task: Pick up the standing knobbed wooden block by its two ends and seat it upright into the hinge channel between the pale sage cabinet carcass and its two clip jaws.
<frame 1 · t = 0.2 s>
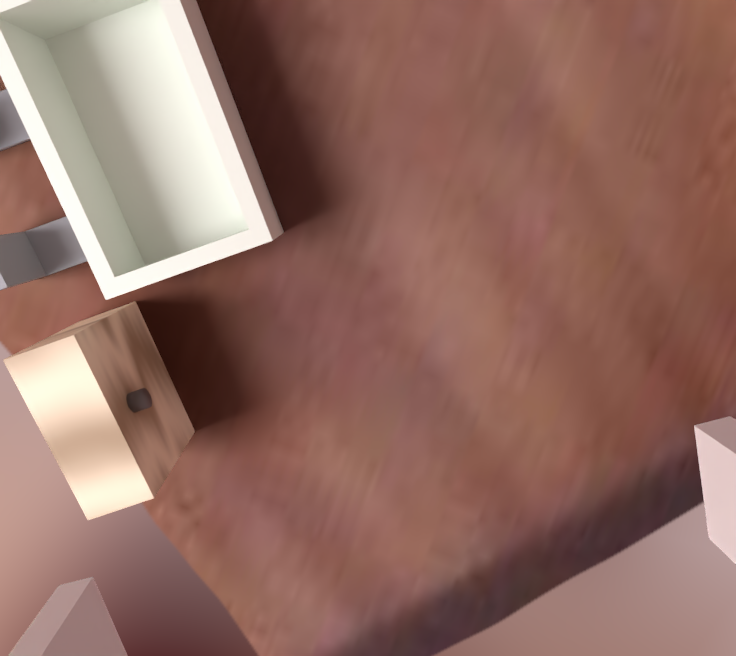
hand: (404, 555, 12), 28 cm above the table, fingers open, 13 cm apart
knobbed wooden block: (139, 377, 40), on the table
carcass: (163, 137, 36), on the table
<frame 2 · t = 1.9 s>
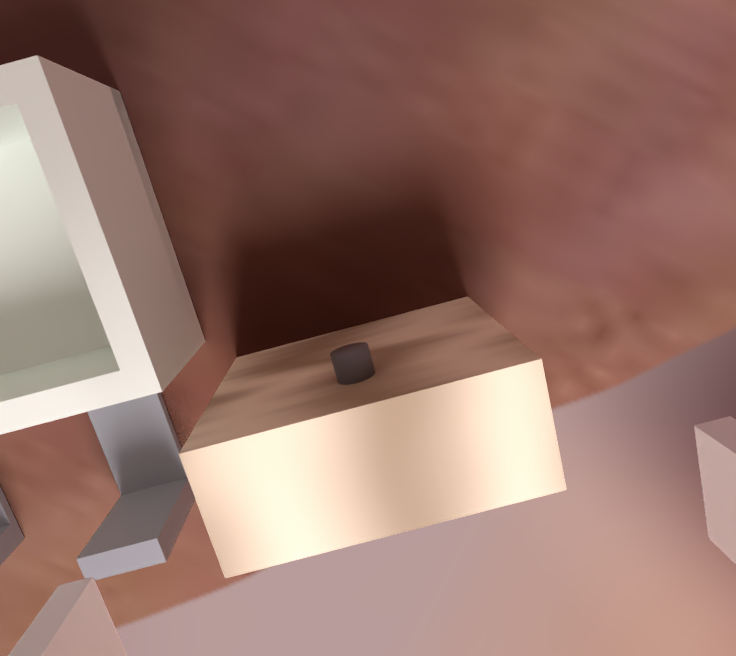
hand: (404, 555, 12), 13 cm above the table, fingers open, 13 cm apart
knobbed wooden block: (363, 370, 25), on the table
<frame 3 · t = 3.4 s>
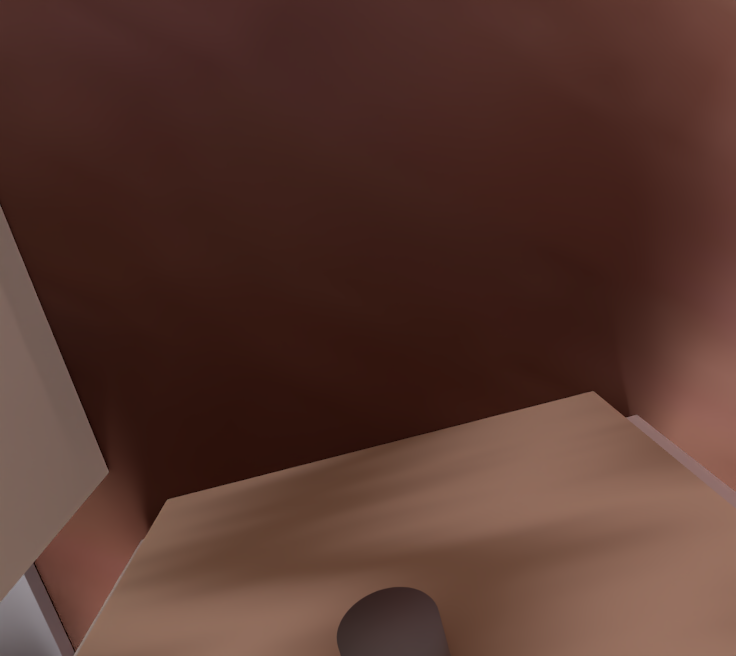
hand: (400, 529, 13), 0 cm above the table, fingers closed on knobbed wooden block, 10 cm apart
knobbed wooden block: (398, 521, 14), on the table, touching gripper
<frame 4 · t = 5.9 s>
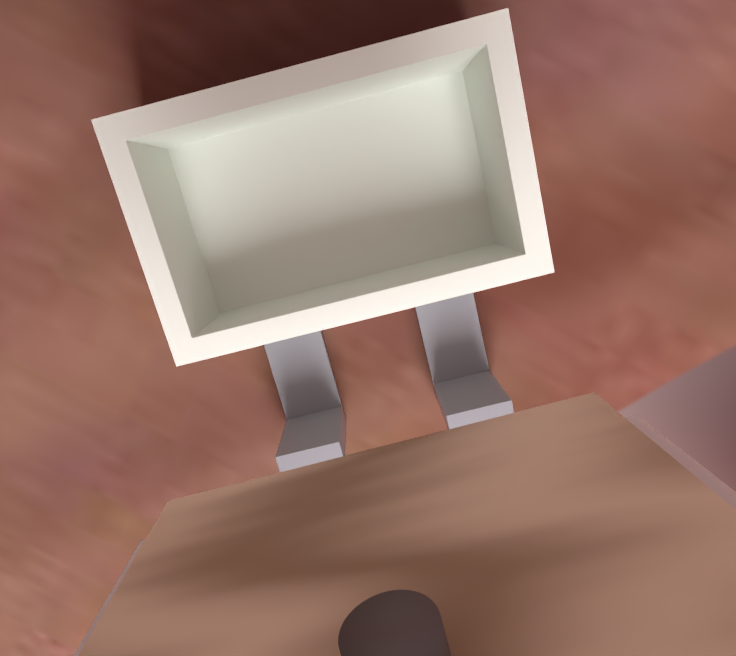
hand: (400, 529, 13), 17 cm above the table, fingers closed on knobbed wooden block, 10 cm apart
knobbed wooden block: (399, 522, 14), point 17 cm above the table, touching gripper
carcass: (336, 197, 28), on the table
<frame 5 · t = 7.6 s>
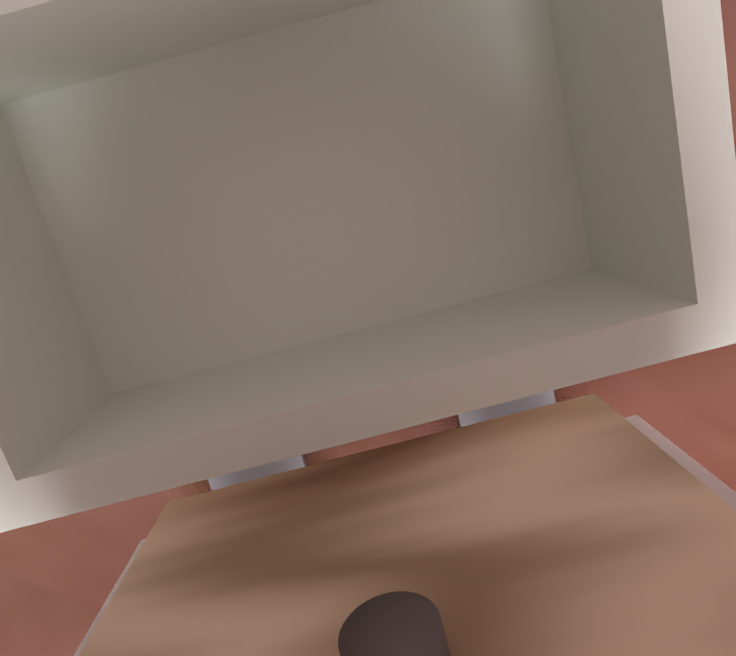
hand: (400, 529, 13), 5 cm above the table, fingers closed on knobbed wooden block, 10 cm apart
knobbed wooden block: (399, 523, 13), point 5 cm above the table, touching gripper
carcass: (313, 191, 16), on the table
when the fingers open (2 cm above the table, at t = 8.7 s): knobbed wooden block drops 1 cm, resting on carcass.
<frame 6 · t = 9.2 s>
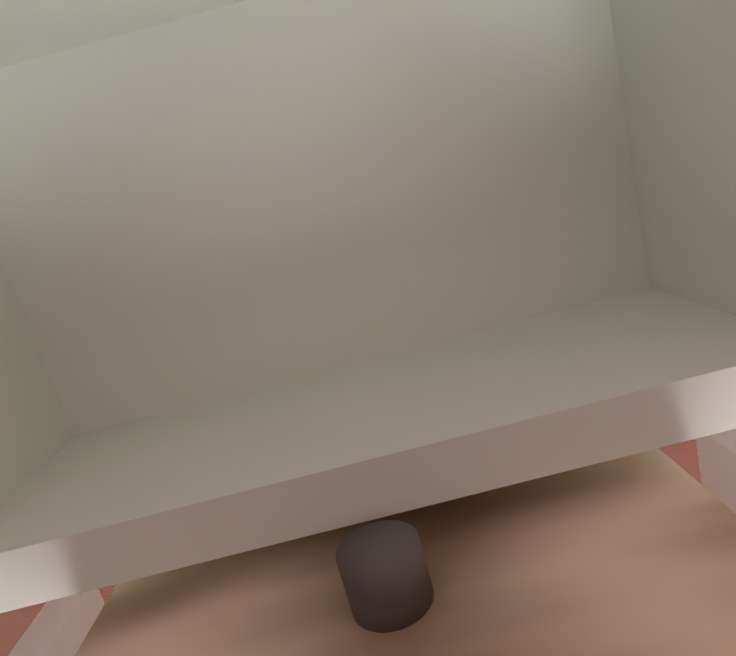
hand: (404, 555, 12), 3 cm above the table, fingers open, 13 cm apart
knobbed wooden block: (392, 489, 15), resting on carcass
carcass: (313, 193, 14), on the table
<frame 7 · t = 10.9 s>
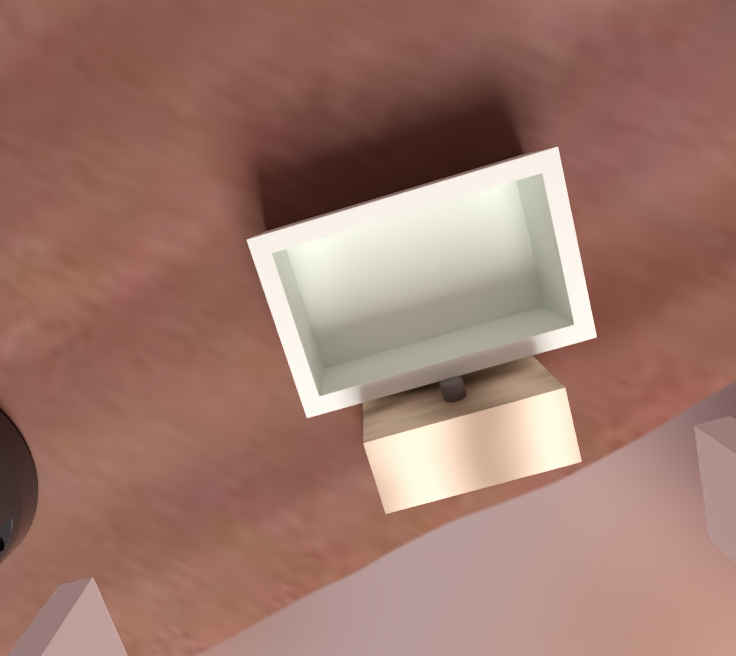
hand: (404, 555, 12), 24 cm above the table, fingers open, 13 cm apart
knobbed wooden block: (446, 389, 37), resting on carcass
carcass: (415, 273, 35), on the table
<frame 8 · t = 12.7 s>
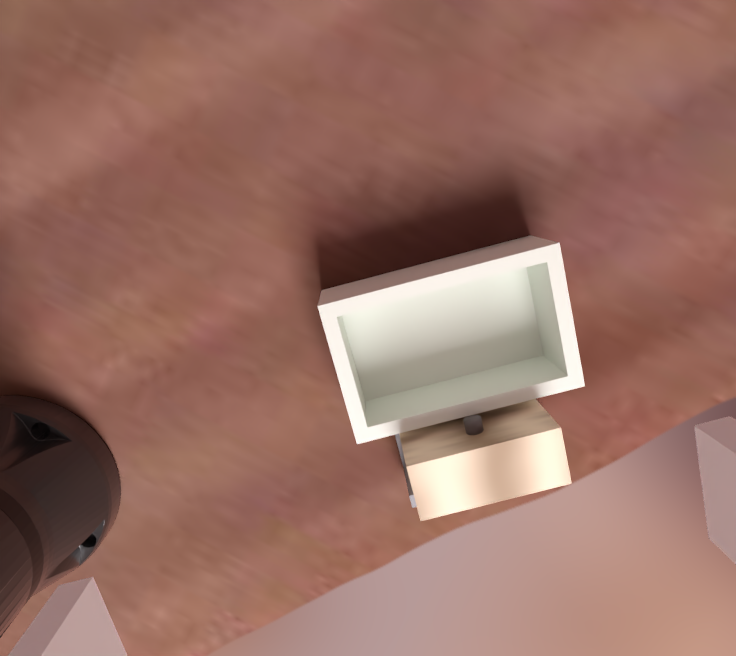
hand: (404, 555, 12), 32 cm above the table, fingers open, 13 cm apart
knobbed wooden block: (462, 419, 45), resting on carcass
carcass: (440, 326, 44), on the table
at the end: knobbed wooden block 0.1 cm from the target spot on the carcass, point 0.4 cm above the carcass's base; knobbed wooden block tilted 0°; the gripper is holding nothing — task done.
